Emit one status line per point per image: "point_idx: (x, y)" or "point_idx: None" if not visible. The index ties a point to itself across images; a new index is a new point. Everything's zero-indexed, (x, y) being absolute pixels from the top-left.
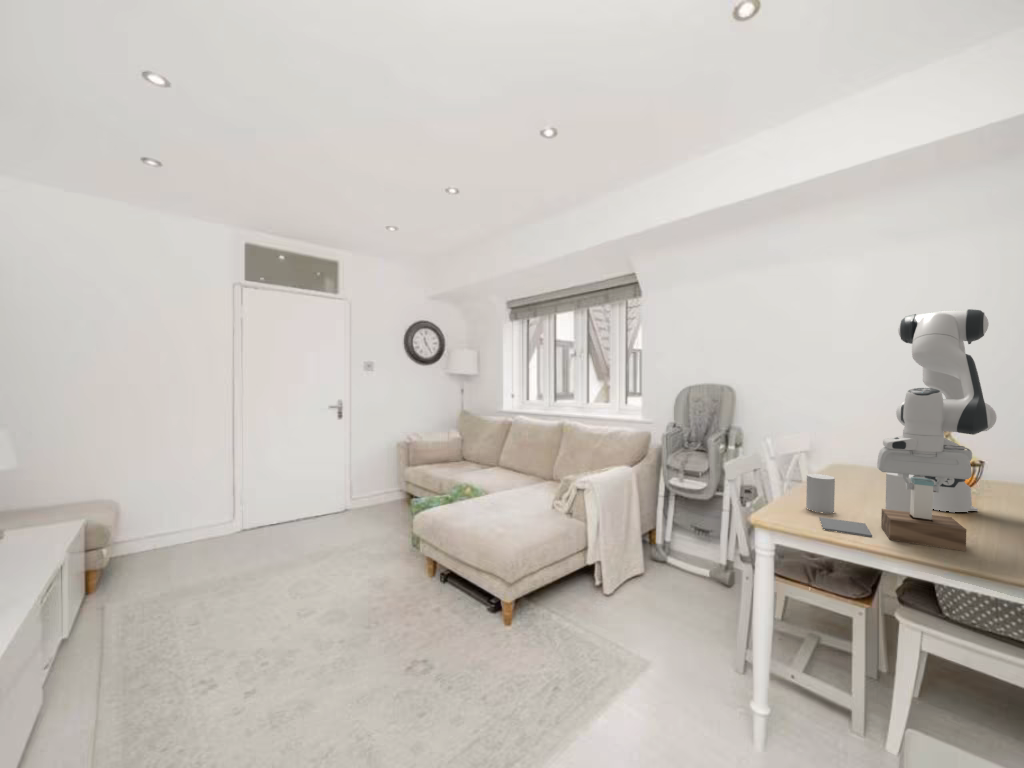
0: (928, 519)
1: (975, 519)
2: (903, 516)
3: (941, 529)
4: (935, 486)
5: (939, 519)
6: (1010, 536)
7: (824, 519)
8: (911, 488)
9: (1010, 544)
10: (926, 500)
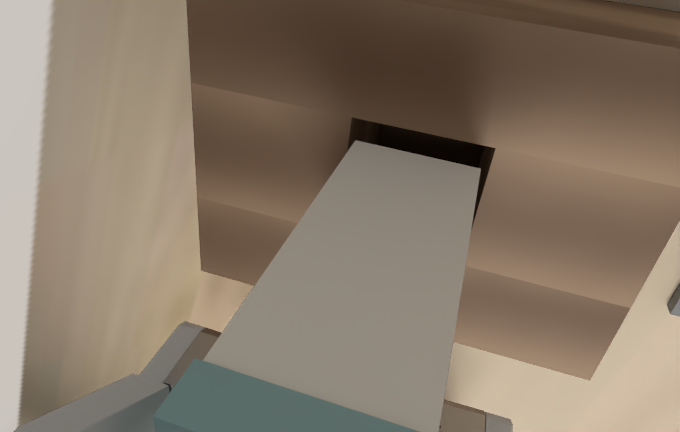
0: None
1: None
2: (533, 211)
3: None
4: (174, 382)
5: (286, 200)
6: (43, 273)
7: None
8: (461, 411)
9: (53, 168)
10: (348, 243)
